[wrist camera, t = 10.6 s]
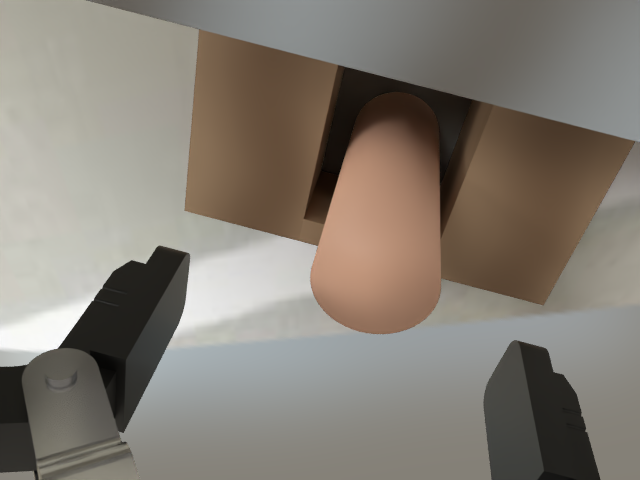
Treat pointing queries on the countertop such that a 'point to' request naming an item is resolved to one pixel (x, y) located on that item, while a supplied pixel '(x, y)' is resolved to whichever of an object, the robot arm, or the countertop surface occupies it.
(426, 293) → the peg
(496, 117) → the socket station
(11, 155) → the countertop surface
